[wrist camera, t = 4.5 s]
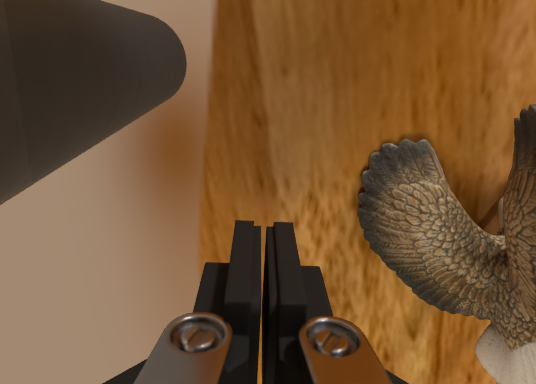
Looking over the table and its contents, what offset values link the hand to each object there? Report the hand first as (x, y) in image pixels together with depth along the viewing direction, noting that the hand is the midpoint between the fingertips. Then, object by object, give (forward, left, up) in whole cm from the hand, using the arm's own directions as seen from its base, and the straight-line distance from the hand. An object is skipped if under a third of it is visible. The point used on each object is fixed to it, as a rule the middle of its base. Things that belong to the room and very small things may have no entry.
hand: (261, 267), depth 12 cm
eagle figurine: (+8, 0, -4) cm, 9 cm away
